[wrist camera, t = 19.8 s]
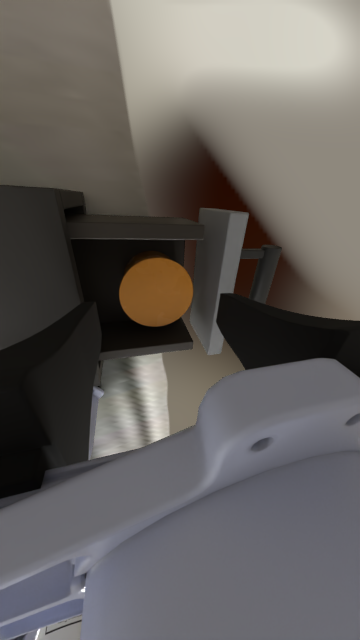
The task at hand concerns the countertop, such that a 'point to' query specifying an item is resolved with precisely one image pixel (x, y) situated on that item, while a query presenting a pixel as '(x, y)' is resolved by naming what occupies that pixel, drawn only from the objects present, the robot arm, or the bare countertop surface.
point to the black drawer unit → (37, 261)
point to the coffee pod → (155, 289)
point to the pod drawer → (169, 238)
